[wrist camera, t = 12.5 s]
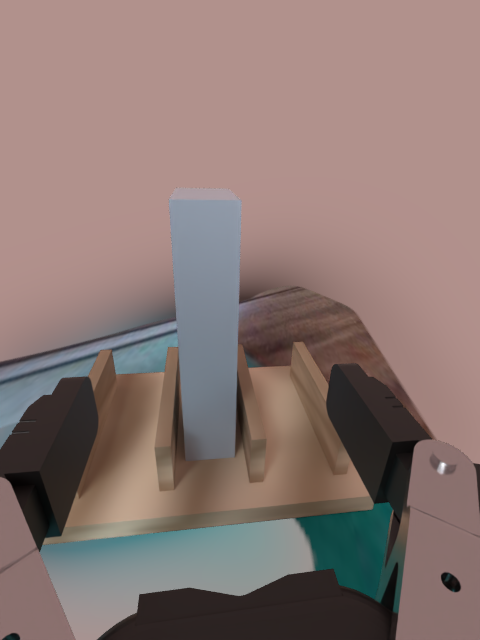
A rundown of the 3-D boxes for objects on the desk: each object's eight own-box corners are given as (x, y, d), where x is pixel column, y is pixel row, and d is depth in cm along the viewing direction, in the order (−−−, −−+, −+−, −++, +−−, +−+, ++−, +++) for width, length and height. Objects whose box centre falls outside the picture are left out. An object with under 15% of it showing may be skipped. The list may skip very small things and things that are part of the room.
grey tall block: (185, 461, 20) (168, 199, 14) (187, 397, 25) (176, 187, 19) (234, 457, 20) (241, 200, 14) (226, 395, 26) (228, 188, 19)
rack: (34, 545, 17) (9, 484, 15) (99, 387, 28) (90, 340, 26) (372, 509, 19) (389, 451, 17) (304, 376, 31) (310, 332, 29)
